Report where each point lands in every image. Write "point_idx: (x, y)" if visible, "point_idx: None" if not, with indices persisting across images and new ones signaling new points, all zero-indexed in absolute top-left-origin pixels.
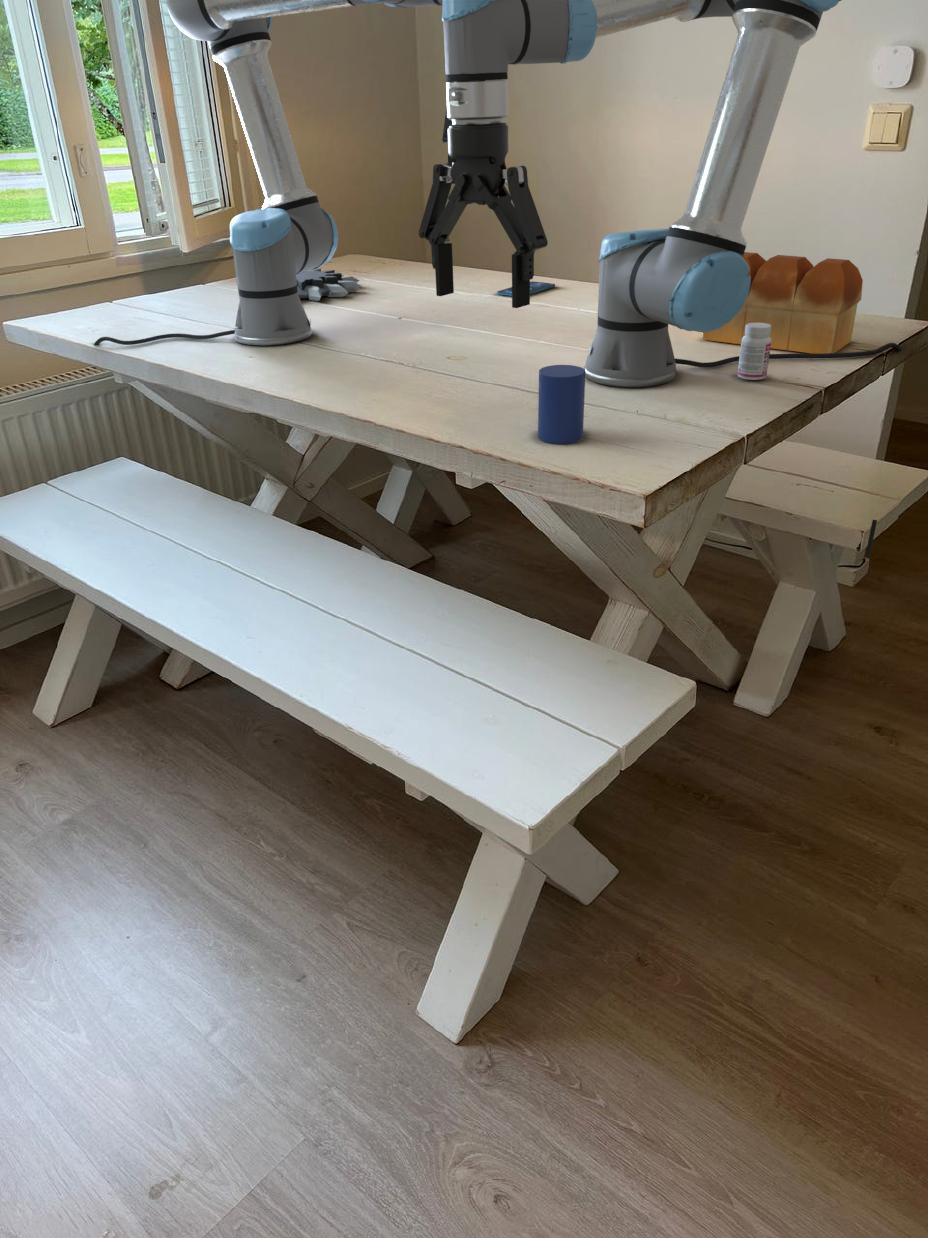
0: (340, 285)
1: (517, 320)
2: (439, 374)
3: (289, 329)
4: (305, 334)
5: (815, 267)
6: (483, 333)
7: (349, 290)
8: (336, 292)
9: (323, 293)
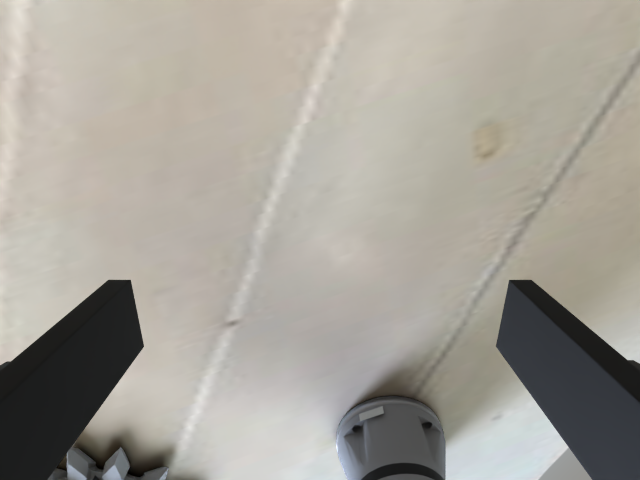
0: (88, 472)
1: (177, 112)
2: (595, 134)
3: (425, 419)
4: (398, 400)
5: None
6: (301, 148)
7: (84, 455)
8: (127, 461)
9: (129, 476)
